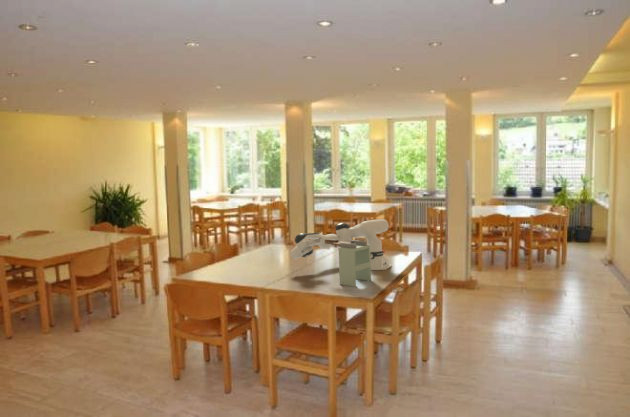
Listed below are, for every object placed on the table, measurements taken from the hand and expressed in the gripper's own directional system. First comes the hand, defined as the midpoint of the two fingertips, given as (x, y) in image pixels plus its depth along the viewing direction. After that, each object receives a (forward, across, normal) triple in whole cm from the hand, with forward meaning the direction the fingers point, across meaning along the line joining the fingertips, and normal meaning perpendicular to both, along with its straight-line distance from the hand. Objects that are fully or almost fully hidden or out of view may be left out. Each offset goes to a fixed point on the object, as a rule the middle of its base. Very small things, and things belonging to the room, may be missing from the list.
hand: (317, 238), depth 382 cm
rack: (+15, 0, -42) cm, 45 cm away
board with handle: (+16, +1, -12) cm, 20 cm away
